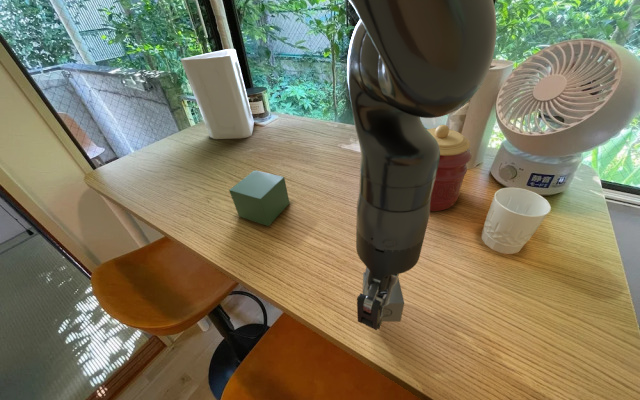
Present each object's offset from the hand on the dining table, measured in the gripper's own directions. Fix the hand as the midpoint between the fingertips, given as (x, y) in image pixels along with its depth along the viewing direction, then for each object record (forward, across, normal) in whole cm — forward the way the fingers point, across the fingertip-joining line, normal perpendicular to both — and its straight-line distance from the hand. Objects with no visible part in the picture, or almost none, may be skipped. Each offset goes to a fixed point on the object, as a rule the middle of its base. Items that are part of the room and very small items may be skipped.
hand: (380, 302), depth 38 cm
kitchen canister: (+3, -34, +2) cm, 34 cm away
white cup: (+3, -24, +17) cm, 29 cm away
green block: (+3, -13, -33) cm, 36 cm away
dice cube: (+1, 0, 0) cm, 1 cm away
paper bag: (+2, -49, -75) cm, 89 cm away
